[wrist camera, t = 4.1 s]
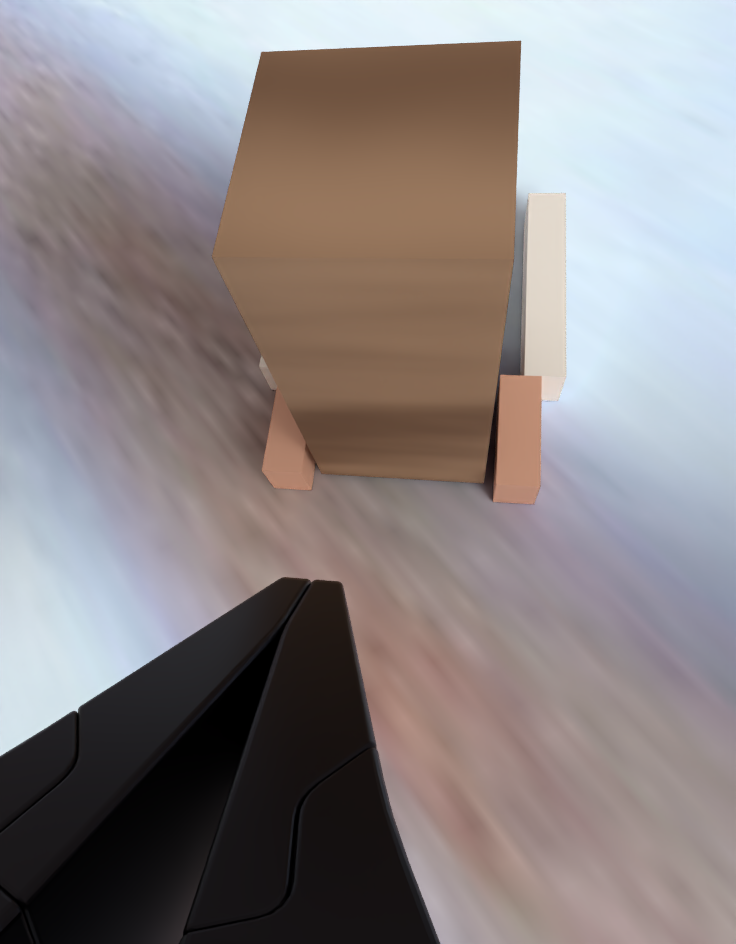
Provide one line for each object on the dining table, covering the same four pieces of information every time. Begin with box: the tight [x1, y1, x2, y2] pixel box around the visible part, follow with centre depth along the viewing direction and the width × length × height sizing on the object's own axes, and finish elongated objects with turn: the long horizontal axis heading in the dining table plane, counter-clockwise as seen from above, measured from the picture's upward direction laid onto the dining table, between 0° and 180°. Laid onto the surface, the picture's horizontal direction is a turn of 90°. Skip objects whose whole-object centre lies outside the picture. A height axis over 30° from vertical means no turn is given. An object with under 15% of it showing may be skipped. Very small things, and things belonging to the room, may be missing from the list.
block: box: [212, 41, 521, 483], centre depth 16 cm, size 5×5×10 cm
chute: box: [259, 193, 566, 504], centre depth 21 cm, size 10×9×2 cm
